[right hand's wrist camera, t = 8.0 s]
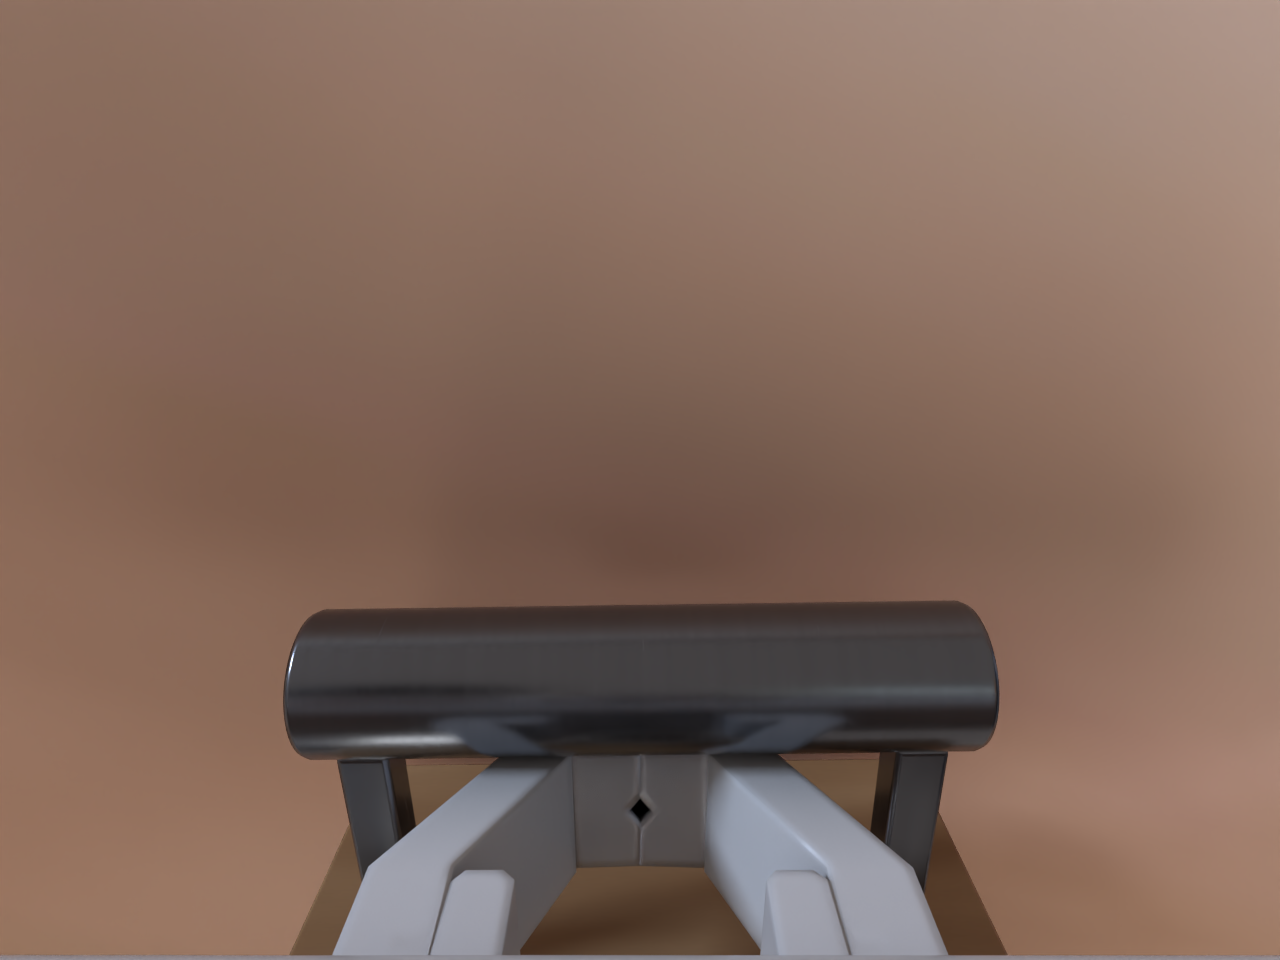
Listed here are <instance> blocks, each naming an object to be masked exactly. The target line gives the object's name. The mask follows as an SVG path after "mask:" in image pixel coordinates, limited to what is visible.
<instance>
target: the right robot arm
mask: <svg viewBox="0 0 1280 960" xmlns="http://www.w3.org/2000/svg"><path fill="white" fill-rule="evenodd" d="M626 866H652V867H687V868H704V872H705V873H706V874H707V876H708V877H709V879H710V880H711V881H712V883H713V884H714V886H715V887H716V888H717V890H718V891H719V893H720V894H721V895H722V897H723V898H724V899H725V901H726V902H727V904H728V905H729V906H730V908H731V909H732V911H733V912H734V913H735V915H736V916H737V918H738V919H739V920H740V922H741V923H742V925H743V926H744V927H745V929H746V930H747V932H748V933H749V934H750V936H751V937H752V939H753V940H754V941H755V943H756V944H757V946H758V947H759V948H760V950H761V952H760V955H520V949H521V948H522V947H523V945H524V944H525V943H526V941H527V940H528V938H529V937H530V936H531V934H532V933H533V931H534V930H535V929H536V927H537V926H538V924H539V923H540V922H541V920H542V919H543V918H544V916H545V915H546V913H547V912H548V911H549V909H550V908H551V906H552V905H553V904H554V902H555V901H556V899H557V898H558V897H559V895H560V894H561V893H562V891H563V890H564V888H565V887H566V886H567V884H568V883H569V881H570V880H571V879H572V877H573V876H574V874H575V873H576V868H593V867H626ZM0 960H1280V955H948V953H947V950H946V948H945V945H944V943H943V940H942V938H941V935H940V933H939V931H938V928H937V926H936V923H935V921H934V918H933V916H932V913H931V911H930V908H929V906H928V903H927V901H926V898H925V896H924V893H923V891H922V888H921V886H920V884H919V881H918V879H917V876H916V874H915V871H914V869H913V867H912V866H910V865H909V864H908V863H907V862H906V861H905V860H903V859H902V858H901V857H900V856H899V855H897V854H896V853H895V852H894V851H893V850H891V849H890V848H889V847H888V846H887V845H885V844H884V843H883V842H882V841H881V840H879V839H878V838H877V837H876V836H875V835H873V834H872V833H871V832H870V831H869V830H868V829H866V828H865V827H864V826H863V825H862V824H860V823H859V822H858V821H857V820H856V819H854V818H853V817H852V816H851V815H850V814H848V813H847V812H846V811H845V810H844V809H842V808H841V807H840V806H839V805H838V804H837V803H835V802H834V801H833V800H832V799H831V798H829V797H828V796H827V795H826V794H825V793H823V792H822V791H821V790H820V789H819V788H817V787H816V786H815V785H814V784H813V783H811V782H810V781H809V780H808V779H807V778H805V777H804V776H803V775H802V774H801V773H800V772H798V771H797V770H796V769H795V768H794V767H792V766H791V765H790V764H789V763H788V762H786V761H785V760H784V759H783V758H782V757H780V756H779V755H778V754H722V755H646V756H570V757H499V758H498V759H496V760H495V761H494V762H493V763H492V764H491V765H489V766H488V767H487V768H486V769H485V770H483V771H482V772H481V773H480V774H479V775H477V776H476V777H475V778H474V779H473V780H471V781H470V782H469V783H468V784H467V785H465V786H464V787H463V788H462V789H461V790H459V791H458V792H457V793H456V794H455V795H453V796H452V797H451V798H450V799H449V800H447V801H446V802H445V803H444V804H443V805H441V806H440V807H439V808H438V809H437V810H435V811H434V812H433V813H432V814H431V815H429V816H428V817H427V818H426V819H425V820H423V821H422V822H421V823H420V824H419V825H417V826H416V827H415V828H414V829H413V830H411V831H410V832H409V833H408V834H407V835H405V836H404V837H403V838H402V839H401V840H399V841H398V842H397V843H396V844H395V845H393V846H392V847H391V848H390V849H389V850H387V851H386V852H385V853H384V854H383V855H381V856H380V857H379V858H378V859H377V860H375V861H374V862H373V863H372V864H371V865H370V866H368V869H367V871H366V874H365V876H364V878H363V881H362V883H361V886H360V888H359V891H358V893H357V896H356V898H355V900H354V903H353V905H352V908H351V910H350V913H349V915H348V918H347V920H346V922H345V925H344V927H343V930H342V932H341V935H340V937H339V939H338V942H337V944H336V947H335V949H334V952H333V954H332V955H0Z"/></svg>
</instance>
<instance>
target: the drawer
mask: <svg viewBox="0 0 1280 960" xmlns="http://www.w3.org/2000/svg"><path fill="white" fill-rule="evenodd" d="M283 707H284V720H285V726H286V731H287V734H288V738H289V740H290V743H291V745H292V747H293V748H294V750H295V751H296V752H297V753H298V754H299V755H301V756H303V757H305V758H307V759H310V760H337V763H338V768H339V773H340V778H341V783H342V788H343V793H344V798H345V803H346V808H347V813H348V818H349V823H350V824H349V826H348V828H347V830H346V833H345V835H344V837H343V839H342V841H341V844H340V846H339V848H338V850H337V852H336V854H335V857H334V859H333V861H332V863H331V865H330V868H329V870H328V872H327V874H326V876H325V878H324V881H323V883H322V885H321V887H320V889H319V892H318V894H317V896H316V898H315V900H314V903H313V905H312V907H311V909H310V911H309V913H308V916H307V918H306V920H305V922H304V924H303V927H302V929H301V931H300V933H299V935H298V938H297V940H296V942H295V944H294V946H293V948H292V951H291V953H290V955H332V954H333V952H334V949H335V947H336V944H337V942H338V939H339V937H340V935H341V932H342V930H343V927H344V925H345V922H346V920H347V918H348V915H349V913H350V910H351V908H352V905H353V903H354V900H355V898H356V896H357V893H358V891H359V888H360V886H361V883H362V881H363V878H364V876H365V874H366V871H367V869H368V866H370V865H371V864H372V863H373V862H374V861H375V860H377V859H378V858H379V857H380V856H381V855H383V854H384V853H385V852H386V851H387V850H389V849H390V848H391V847H392V846H393V845H395V844H396V843H397V842H398V841H399V840H401V839H402V838H403V837H404V836H405V835H407V834H408V833H409V832H410V831H411V830H413V829H414V828H415V827H416V826H417V825H419V824H420V823H421V822H422V821H423V820H425V819H426V818H427V817H428V816H429V815H431V814H432V813H433V812H434V811H435V810H437V809H438V808H439V807H440V806H441V805H443V804H444V803H445V802H446V801H447V800H449V799H450V798H451V797H452V796H453V795H455V794H456V793H457V792H458V791H459V790H461V789H462V788H463V787H464V786H465V785H467V784H468V783H469V782H470V781H471V780H473V779H474V778H475V777H476V776H477V775H479V774H480V773H481V772H482V771H483V770H485V769H486V768H487V767H488V766H489V765H491V764H462V765H406V760H405V759H418V758H494V757H570V756H646V755H722V754H798V753H875V752H880V757H879V759H844V760H785V761H786V762H788V763H789V764H790V765H791V766H792V767H794V768H795V769H796V770H797V771H798V772H800V773H801V774H802V775H803V776H804V777H805V778H807V779H808V780H809V781H810V782H811V783H813V784H814V785H815V786H816V787H817V788H819V789H820V790H821V791H822V792H823V793H825V794H826V795H827V796H828V797H829V798H831V799H832V800H833V801H834V802H835V803H837V804H838V805H839V806H840V807H841V808H842V809H844V810H845V811H846V812H847V813H848V814H850V815H851V816H852V817H853V818H854V819H856V820H857V821H858V822H859V823H860V824H862V825H863V826H864V827H865V828H866V829H868V830H869V831H870V832H871V833H872V834H873V835H875V836H876V837H877V838H878V839H879V840H881V841H882V842H883V843H884V844H885V845H887V846H888V847H889V848H890V849H891V850H893V851H894V852H895V853H896V854H897V855H899V856H900V857H901V858H902V859H903V860H905V861H906V862H907V863H908V864H909V865H910V866H912V867H913V869H914V871H915V874H916V876H917V879H918V881H919V884H920V886H921V888H922V891H923V893H924V896H925V898H926V901H927V903H928V906H929V908H930V911H931V913H932V916H933V918H934V921H935V923H936V926H937V928H938V931H939V933H940V935H941V938H942V940H943V943H944V945H945V948H946V950H947V953H948V955H1007V953H1006V950H1005V948H1004V946H1003V944H1002V942H1001V940H1000V938H999V936H998V934H997V932H996V930H995V928H994V926H993V924H992V921H991V919H990V917H989V915H988V913H987V911H986V909H985V907H984V905H983V903H982V901H981V899H980V897H979V895H978V892H977V890H976V888H975V886H974V884H973V882H972V880H971V878H970V876H969V874H968V872H967V870H966V868H965V865H964V863H963V861H962V859H961V857H960V855H959V853H958V851H957V849H956V847H955V845H954V843H953V841H952V839H951V836H950V834H949V832H948V830H947V828H946V826H945V824H944V822H943V820H942V818H941V816H940V814H939V812H938V811H939V805H940V799H941V793H942V787H943V781H944V775H945V769H946V763H947V757H948V752H951V751H976V750H978V749H980V748H982V747H984V746H985V745H986V744H987V743H988V742H989V741H990V739H991V738H992V736H993V733H994V731H995V728H996V723H997V719H998V712H999V680H998V671H997V666H996V660H995V656H994V652H993V648H992V645H991V641H990V639H989V636H988V633H987V631H986V629H985V627H984V625H983V623H982V621H981V619H980V618H979V616H978V615H977V614H976V612H975V611H974V610H973V609H972V608H971V607H969V606H968V605H966V604H964V603H961V602H959V601H888V602H817V603H745V604H674V605H603V606H531V607H460V608H388V609H326V610H322V611H320V612H317V613H315V614H313V615H312V616H311V617H309V618H308V619H307V620H306V622H305V623H304V624H303V626H302V627H301V629H300V630H299V632H298V634H297V636H296V639H295V641H294V643H293V646H292V649H291V652H290V656H289V659H288V664H287V669H286V674H285V681H284V695H283ZM760 952H761V950H760V948H759V947H758V946H757V944H756V943H755V941H754V940H753V939H752V937H751V936H750V934H749V933H748V932H747V930H746V929H745V927H744V926H743V925H742V923H741V922H740V920H739V919H738V918H737V916H736V915H735V913H734V912H733V911H732V909H731V908H730V906H729V905H728V904H727V902H726V901H725V899H724V898H723V897H722V895H721V894H720V893H719V891H718V890H717V888H716V887H715V886H714V884H713V883H712V881H711V880H710V879H709V877H708V876H707V874H706V873H705V872H704V868H687V867H652V866H626V867H593V868H576V873H575V874H574V876H573V877H572V879H571V880H570V881H569V883H568V884H567V886H566V887H565V888H564V890H563V891H562V893H561V894H560V895H559V897H558V898H557V899H556V901H555V902H554V904H553V905H552V906H551V908H550V909H549V911H548V912H547V913H546V915H545V916H544V918H543V919H542V920H541V922H540V923H539V924H538V926H537V927H536V929H535V930H534V931H533V933H532V934H531V936H530V937H529V938H528V940H527V941H526V943H525V944H524V945H523V947H522V948H521V949H520V955H760Z"/></svg>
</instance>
